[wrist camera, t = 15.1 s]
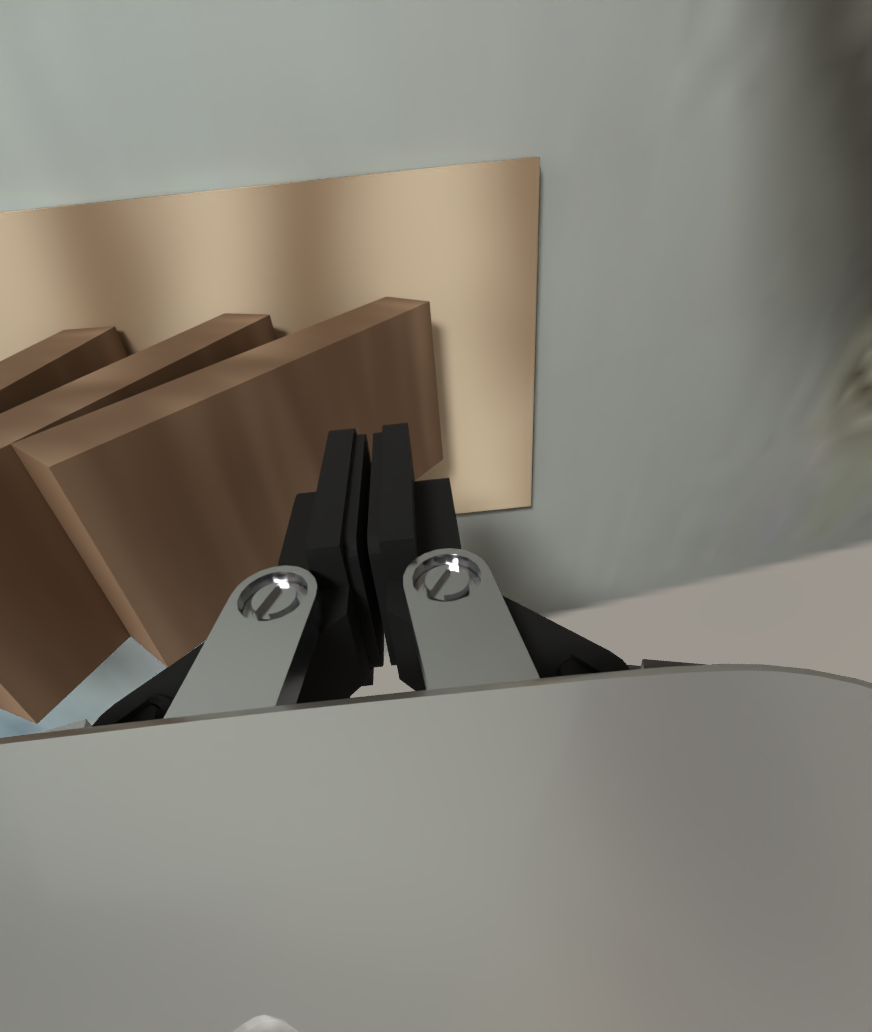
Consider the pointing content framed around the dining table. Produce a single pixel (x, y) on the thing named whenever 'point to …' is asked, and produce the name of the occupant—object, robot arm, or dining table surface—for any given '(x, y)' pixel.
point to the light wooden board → (315, 284)
